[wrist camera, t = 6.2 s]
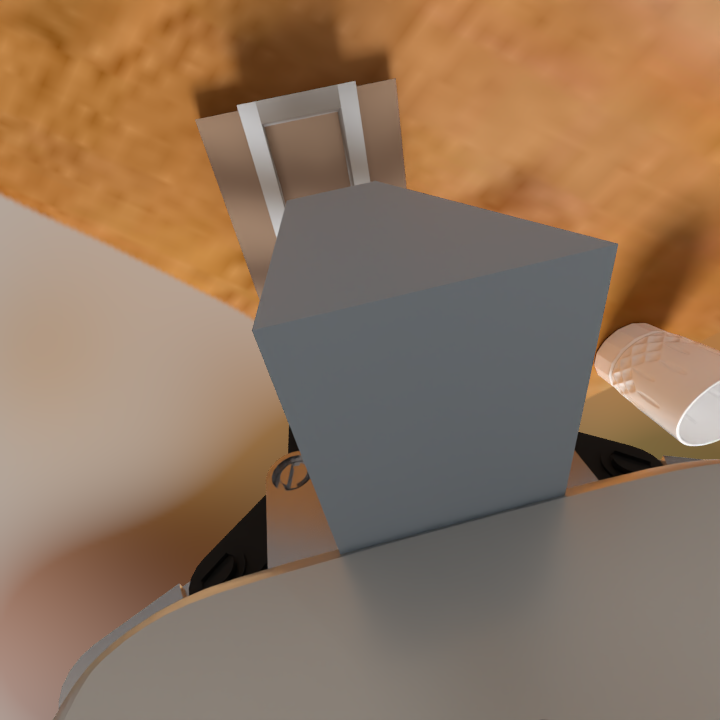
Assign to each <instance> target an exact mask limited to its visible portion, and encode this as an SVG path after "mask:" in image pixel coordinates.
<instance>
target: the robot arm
mask: <svg viewBox="0 0 720 720" xmlns="http://www.w3.org/2000/svg"><path fill="white" fill-rule="evenodd" d="M288 445H289V446H288V454H287V455H284V456H283V457H281V458H280V459H278V460H277V461H276V462H275V463H274V464H273V465H272V466H271V468H270V470H269V471H268V473H267V477H266V495H265V496H264V497H263V498H262V499H261V500H260V501H259V502H258V504H256V505H255V506H254V508H253V509H252V510H251V511H250V512H249V513H248V514H247V515H246V516H245V517H244V518H243V519H242V520H241V521H240V522H239V523H238V524H237V525H236V526H235V527H234V528H233V529H232V530H231V531H230V532H229V533H228V534H227V535H226V536H225V538H223V539H222V540H221V541H220V542H219V544H217V545H216V547H215V548H214V549H213V550H212V551H211V552H210V553H209V554H208V555H207V556H206V557H205V558H204V559H203V560H202V561H201V563H200V564H199V565H198V566H197V568H196V570H195V572H194V574H193V576H192V578H191V581H190V582H189V583H188V584H186V585H185V586H183V587H182V586H181V585H180V584H178V585H177V586H175V587H174V588H172V589H171V590H170V591H168V592H167V593H166V594H164V595H163V596H161V597H160V598H158V599H157V600H156V601H154V602H153V603H151V604H150V605H149V606H147V607H146V608H144V609H143V610H142V611H140V612H139V613H138V614H136V615H135V616H133V617H132V618H131V619H129V620H128V621H126V622H125V623H124V624H122V625H121V626H119V627H118V628H117V629H115V630H114V631H112V632H111V633H110V634H108V635H107V636H105V637H104V638H103V639H101V640H100V641H99V642H97V643H96V644H94V645H93V646H92V647H91V648H90V649H89V650H88V651H87V652H85V653H84V654H83V655H82V656H81V657H80V659H79V660H78V661H77V663H76V664H75V665H74V666H73V668H72V669H71V670H70V672H69V674H68V676H67V678H66V680H65V682H64V684H63V686H62V690H61V694H60V699H59V710H58V712H57V713H56V715H55V717H54V719H53V720H720V459H715V460H714V459H713V460H701V459H691V458H681V457H672V456H663V457H662V459H661V460H658V459H657V458H655V457H654V456H653V455H651V454H649V453H647V452H645V451H644V450H641V449H638V448H636V447H633V446H629V445H626V444H622V443H618V442H615V441H611V440H607V439H603V438H599V437H596V436H592V435H588V434H584V433H580V432H578V435H577V440H576V445H575V450H574V454H573V459H572V464H571V468H570V473H569V478H568V483H567V487H566V492H565V495H562V496H558V497H555V498H551V499H547V500H543V501H539V502H535V503H532V504H528V505H524V506H520V507H517V508H513V509H509V510H505V511H502V512H498V513H494V514H490V515H487V516H483V517H479V518H475V519H471V520H468V521H464V522H460V523H456V524H453V525H449V526H445V527H441V528H438V529H434V530H430V531H426V532H423V533H419V534H415V535H411V536H408V537H404V538H400V539H396V540H393V541H389V542H385V543H381V544H378V545H374V546H370V547H366V548H363V549H359V550H355V551H352V552H348V553H344V554H341V555H340V552H339V550H338V547H337V545H336V542H335V540H334V537H333V535H332V532H331V529H330V527H329V524H328V522H327V519H326V517H325V514H324V512H323V509H322V507H321V504H320V502H319V499H318V496H317V494H316V491H315V489H314V486H313V484H312V481H311V479H310V476H309V474H308V471H307V469H306V466H305V463H304V461H303V458H302V456H301V453H300V451H299V448H298V446H297V443H296V441H295V438H294V436H293V433H292V430H291V428H290V425H289V444H288Z"/></svg>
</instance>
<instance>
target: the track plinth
mask: <svg viewBox="0 0 720 720" xmlns="http://www.w3.org/2000/svg"><path fill="white" fill-rule="evenodd" d="M237 108H238V111H235V112H230V113H225V114H220V115H215V116H210V117H206V118H201V119H196V120H195V121H196V124H197V127H198V129H199V132H200V135H201V138H202V140H203V143H204V146H205V149H206V152H207V154H208V157H209V160H210V163H211V166H212V168H213V171H214V174H215V177H216V180H217V182H218V185H219V188H220V191H221V193H222V196H223V199H224V202H225V205H226V207H227V210H228V213H229V216H230V219H231V221H232V224H233V227H234V230H235V232H236V235H237V238H238V241H239V244H240V246H241V249H242V252H243V255H244V258H245V260H246V263H247V266H248V269H249V272H250V274H251V277H252V280H253V283H254V285H255V288H256V291H257V294H258V297H259V299H261V295H262V291H263V288H264V284H265V280H266V276H267V273H268V269H269V265H270V261H271V258H272V254H273V250H274V246H275V243H276V239H277V235H278V232H279V228H280V224H281V220H282V217H283V213H284V209H285V205H286V202H287V200H292V199H296V198H301V197H305V196H310V195H314V194H319V193H323V192H328V191H332V190H337V189H341V188H346V187H350V186H355V185H359V184H364V183H368V182H373V181H378V182H382V183H386V184H389V185H393V186H397V187H401V188H405V189H406V180H405V169H404V159H403V149H402V139H401V129H400V118H399V108H398V98H397V88H396V78H395V79H390V80H385V81H380V82H375V83H370V84H365V85H361V86H356V81H352V82H347V83H342V84H337V85H333V86H328V87H323V88H318V89H313V90H308V91H303V92H299V93H294V94H289V95H284V96H279V97H274V98H269V99H264V100H260V101H255V102H250V103H245V104H240V105H237Z"/></svg>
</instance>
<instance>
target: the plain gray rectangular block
mask: <svg viewBox="0 0 720 720" xmlns="http://www.w3.org/2000/svg"><path fill="white" fill-rule="evenodd" d="M617 247H618V244H617V243H613V242H609V241H605V240H601V239H597V238H594V237H590V236H586V235H582V234H578V233H574V232H571V231H567V230H563V229H559V228H555V227H551V226H547V225H544V224H540V223H536V222H532V221H528V220H524V219H520V218H517V217H513V216H509V215H505V214H501V213H497V212H493V211H490V210H486V209H482V208H478V207H474V206H470V205H466V204H463V203H459V202H455V201H451V200H447V199H443V198H440V197H436V196H432V195H428V194H424V193H420V192H416V191H413V190H409V189H405V188H401V187H397V186H393V185H389V184H386V183H382V182H378V181H373V182H368V183H364V184H359V185H355V186H350V187H346V188H341V189H337V190H332V191H328V192H323V193H319V194H314V195H310V196H305V197H301V198H296V199H292V200H287V202H286V205H285V209H284V213H283V217H282V220H281V224H280V228H279V232H278V235H277V239H276V243H275V246H274V250H273V254H272V258H271V261H270V265H269V269H268V273H267V276H266V280H265V284H264V288H263V291H262V295H261V299H260V302H259V306H258V310H257V314H256V317H255V321H254V325H253V329H252V331H253V334H254V337H255V339H256V342H257V344H258V347H259V349H260V352H261V354H262V357H263V359H264V362H265V365H266V367H267V370H268V372H269V375H270V377H271V380H272V382H273V384H274V387H275V390H276V392H277V395H278V397H279V400H280V402H281V405H282V407H283V410H284V413H285V415H286V418H287V420H288V423H289V425H290V428H291V430H292V433H293V436H294V438H295V441H296V443H297V446H298V448H299V451H300V453H301V456H302V458H303V461H304V463H305V466H306V469H307V471H308V474H309V476H310V479H311V481H312V484H313V486H314V489H315V491H316V494H317V496H318V499H319V502H320V504H321V507H322V509H323V512H324V514H325V517H326V519H327V522H328V524H329V527H330V529H331V532H332V535H333V537H334V540H335V542H336V545H337V547H338V550H339V552H340V555H341V554H344V553H348V552H352V551H355V550H359V549H363V548H366V547H370V546H374V545H378V544H381V543H385V542H389V541H393V540H396V539H400V538H404V537H408V536H411V535H415V534H419V533H423V532H426V531H430V530H434V529H438V528H441V527H445V526H449V525H453V524H456V523H460V522H464V521H468V520H471V519H475V518H479V517H483V516H487V515H490V514H494V513H498V512H502V511H505V510H509V509H513V508H517V507H520V506H524V505H528V504H532V503H535V502H539V501H543V500H547V499H551V498H555V497H558V496H562V495H565V492H566V487H567V483H568V478H569V473H570V468H571V464H572V459H573V454H574V450H575V445H576V440H577V435H578V430H579V425H580V421H581V417H582V412H583V407H584V402H585V398H586V393H587V388H588V384H589V379H590V374H591V370H592V365H593V360H594V355H595V351H596V346H597V341H598V337H599V332H600V327H601V322H602V318H603V313H604V308H605V304H606V299H607V294H608V289H609V285H610V280H611V275H612V271H613V266H614V261H615V257H616V252H617Z"/></svg>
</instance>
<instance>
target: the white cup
mask: <svg viewBox="0 0 720 720" xmlns="http://www.w3.org/2000/svg"><path fill="white" fill-rule="evenodd" d="M594 366H595V369H596V371H597V374H598V375H599V376H600V377H602V378H603V379H604V380H606V381H607V382H608V383H609V384H611V385H612V386H613V387H615V388H616V389H617V390H618V391H619V392H620V394H622V395H623V396H624V397H625V398H626V399H628V400H629V401H630V402H631V403H633V404H634V405H635V406H636V407H637V408H638V409H640V410H641V411H642V412H643V413H645V414H646V415H647V416H649V417H650V418H651V419H652V420H654V421H655V422H656V423H657V424H659V425H660V426H661V427H662V428H664V429H665V430H666V431H667V432H669V433H670V434H671V435H672V436H674V437H675V438H676V439H677V440H679V441H680V442H681V443H683V444H685V445H688V446H701V445H706V444H710V443H713V442H716V441H718V440H720V351H718V350H716V349H714V348H711V347H708V346H706V345H704V344H701V343H699V342H696V341H692V340H690V339H688V338H685V337H682V336H680V335H676V334H672V333H669V332H666V331H664V330H662V329H659V328H657V327H654V326H652V325H650V324H647V323H632V324H629V325H627V326H625V327H623V328H620V329H618V330H617V331H615V332H614V333H613V334H612V335H611V336H609V337H608V338H607V339H606V340H605V341H604V342H603V344H602V345H601V347H600V348H599V350H598V352H597V353H596V358H595V363H594Z"/></svg>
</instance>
